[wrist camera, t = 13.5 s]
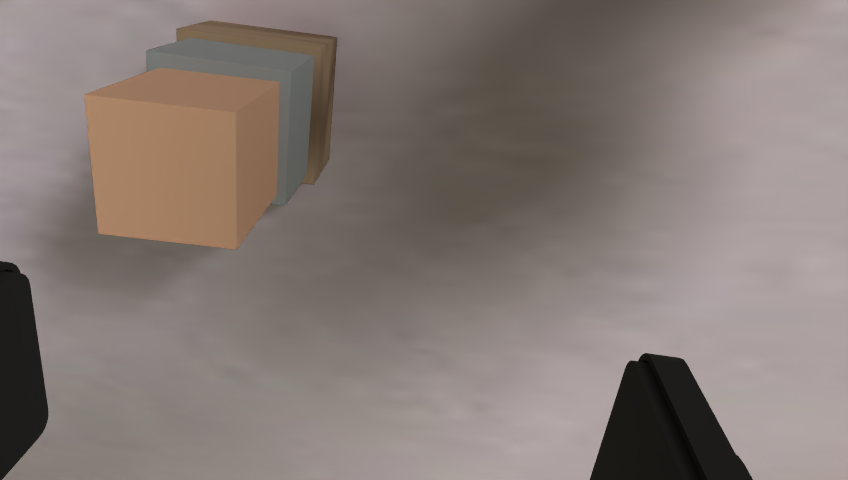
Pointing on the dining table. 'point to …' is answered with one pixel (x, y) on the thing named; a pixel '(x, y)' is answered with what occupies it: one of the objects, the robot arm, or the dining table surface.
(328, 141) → the walnut base block
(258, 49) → the slate top block
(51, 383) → the dining table surface
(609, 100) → the dining table surface
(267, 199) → the terracotta block
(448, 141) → the dining table surface
